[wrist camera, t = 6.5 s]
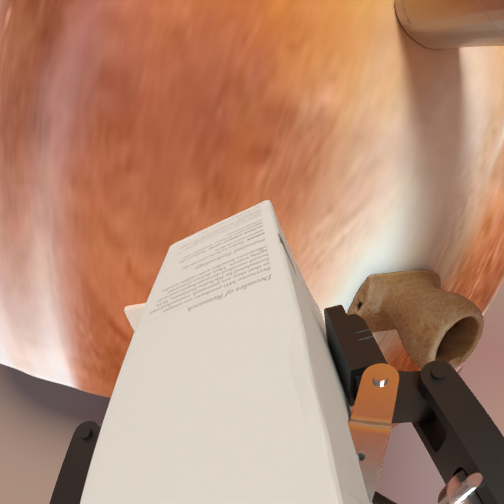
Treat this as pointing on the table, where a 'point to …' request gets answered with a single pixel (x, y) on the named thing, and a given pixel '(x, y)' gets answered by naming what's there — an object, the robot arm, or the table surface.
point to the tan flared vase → (420, 315)
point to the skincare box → (228, 383)
